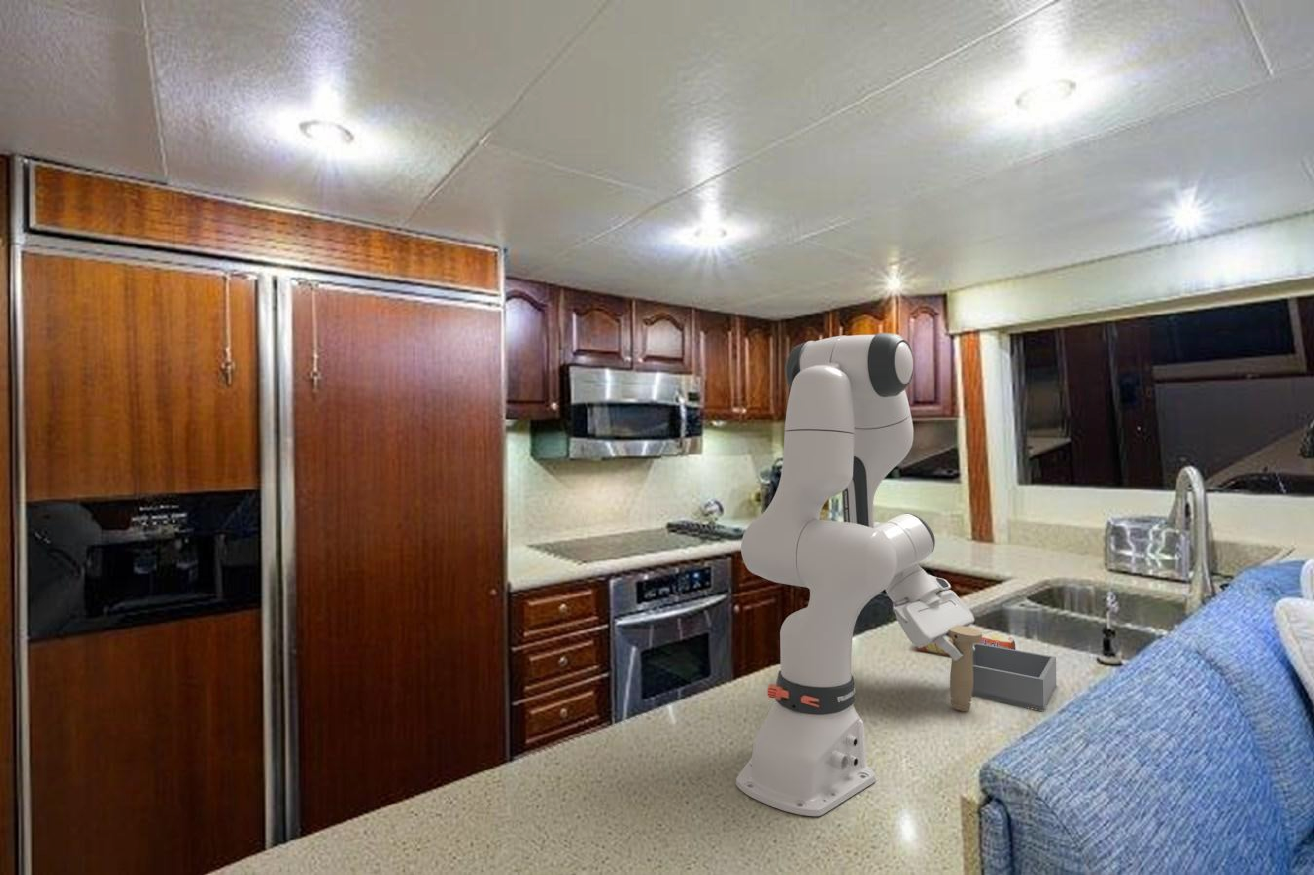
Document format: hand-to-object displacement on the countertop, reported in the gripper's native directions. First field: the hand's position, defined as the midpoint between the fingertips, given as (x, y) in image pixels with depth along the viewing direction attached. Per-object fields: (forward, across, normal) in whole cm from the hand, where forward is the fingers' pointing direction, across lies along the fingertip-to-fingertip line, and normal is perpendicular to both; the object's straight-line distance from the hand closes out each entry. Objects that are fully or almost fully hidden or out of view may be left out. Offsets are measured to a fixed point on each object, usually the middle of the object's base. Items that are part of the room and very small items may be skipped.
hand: (965, 655), depth 122 cm
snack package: (-2, +31, +17) cm, 35 cm away
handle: (+7, 0, +8) cm, 10 cm away
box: (+8, +17, +7) cm, 20 cm away
